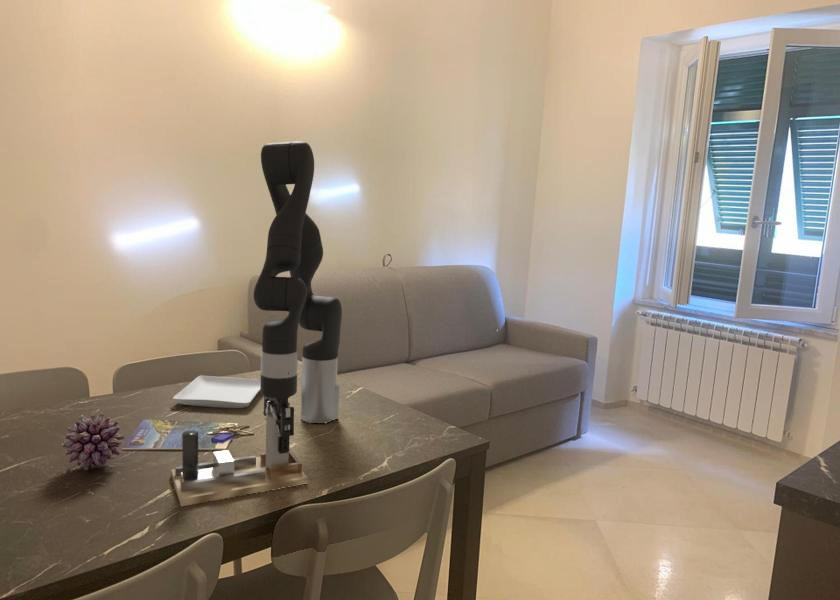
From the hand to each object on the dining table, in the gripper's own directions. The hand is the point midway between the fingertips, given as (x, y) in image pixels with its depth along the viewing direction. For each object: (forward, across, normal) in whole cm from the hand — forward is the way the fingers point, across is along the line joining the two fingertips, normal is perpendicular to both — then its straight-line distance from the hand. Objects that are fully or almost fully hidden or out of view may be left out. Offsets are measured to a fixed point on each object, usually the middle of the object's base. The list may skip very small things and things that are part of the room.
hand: (277, 445), depth 136 cm
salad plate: (+7, +54, 0) cm, 54 cm away
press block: (+5, 0, +14) cm, 15 cm away
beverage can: (+5, 0, 0) cm, 5 cm away
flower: (+7, +17, +34) cm, 39 cm away
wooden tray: (+7, 0, +8) cm, 10 cm away
